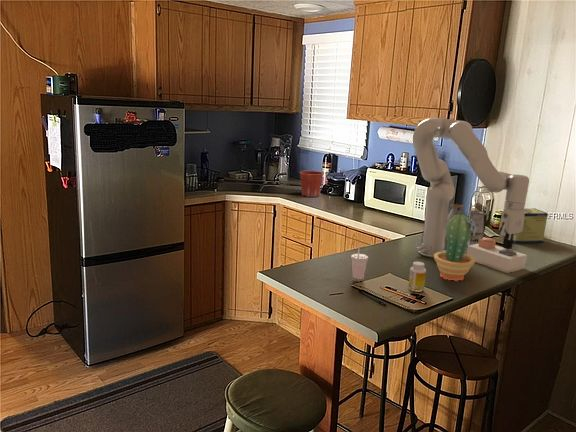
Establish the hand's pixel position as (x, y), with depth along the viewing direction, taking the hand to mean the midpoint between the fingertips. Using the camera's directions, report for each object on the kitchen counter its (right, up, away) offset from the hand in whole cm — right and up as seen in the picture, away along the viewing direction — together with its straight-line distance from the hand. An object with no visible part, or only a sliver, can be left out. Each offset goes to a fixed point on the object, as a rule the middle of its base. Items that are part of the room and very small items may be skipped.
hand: (506, 248), depth 203 cm
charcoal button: (0, -7, +1) cm, 7 cm away
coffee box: (-2, -1, +32) cm, 32 cm away
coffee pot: (-2, +5, +56) cm, 57 cm away
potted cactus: (-27, -11, -12) cm, 31 cm away
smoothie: (-65, -11, -19) cm, 68 cm away
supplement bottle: (-45, -14, -26) cm, 53 cm away
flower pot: (-75, +27, +134) cm, 156 cm away
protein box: (+27, +1, +43) cm, 50 cm away
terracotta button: (-5, -3, +9) cm, 11 cm away
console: (-3, -7, +6) cm, 9 cm away
